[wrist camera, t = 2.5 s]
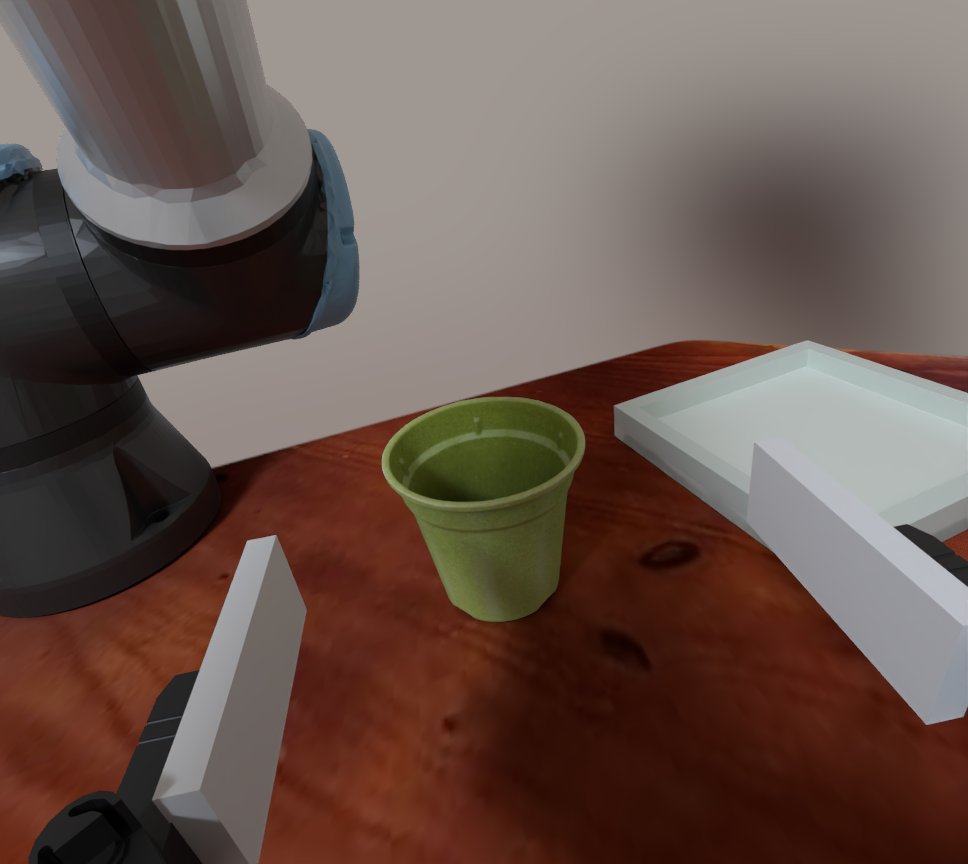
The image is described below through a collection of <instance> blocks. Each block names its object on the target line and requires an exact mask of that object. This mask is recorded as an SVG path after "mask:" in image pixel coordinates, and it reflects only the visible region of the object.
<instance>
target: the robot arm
mask: <svg viewBox="0 0 968 864" xmlns="http://www.w3.org/2000/svg"><path fill="white" fill-rule="evenodd" d="M0 23H1V25H2V26H3V28H4V30H5V31H6V33H7V35H8V36H9V38H10V39H11V41H12V42H13V44H14V46H15V47H16V49H17V50H18V52H19V53H20V55H21V57H22V58H23V60H24V62H25V63H26V65H27V66H28V68H29V69H30V71H31V72H32V74H33V76H34V77H35V79H36V81H37V82H38V84H39V85H40V87H41V88H42V90H43V92H44V93H45V95H46V96H47V98H48V100H49V101H50V103H51V104H52V106H53V107H54V109H55V111H56V112H57V114H58V115H59V117H60V118H61V120H62V122H63V123H64V125H65V127H64V129H63V131H62V134H61V135H60V139H59V143H58V147H57V168H58V169H52V170H45V171H41V170H42V165H41V163H40V161H39V160H38V159H37V158H35V157H34V156H33V155H32V154H31V153H30V151H29V150H28V149H27V148H25V147H24V146H22V145H19V144H2V145H0V616H4V617H15V618H23V617H37V616H43V615H49V614H54V613H59V612H63V611H67V610H70V609H74V608H77V607H80V606H83V605H86V604H89V603H92V602H95V601H97V600H100V599H102V598H105V597H107V596H110V595H112V594H114V593H116V592H119V591H121V590H123V589H125V588H127V587H129V586H131V585H133V584H135V583H137V582H138V581H140V580H142V579H144V578H145V577H147V576H149V575H151V574H152V573H154V572H155V571H157V570H159V569H160V568H162V567H163V566H165V565H166V564H168V563H169V562H170V561H172V560H173V559H175V558H176V557H177V556H178V555H180V554H181V553H182V552H183V551H185V550H186V549H187V548H188V547H189V546H190V545H191V544H193V543H194V542H195V541H196V540H197V539H198V538H199V537H200V536H201V535H202V533H203V532H204V531H205V530H206V529H207V528H208V526H209V525H210V524H211V522H212V521H213V519H214V518H215V516H216V514H217V512H218V510H219V507H220V504H221V498H222V493H221V489H220V486H219V484H218V482H217V480H216V477H215V475H214V473H213V471H212V469H211V466H210V465H209V463H208V462H207V460H206V459H205V458H204V457H203V456H202V455H201V454H200V453H199V452H198V451H197V450H196V449H195V448H194V447H193V446H192V445H191V444H190V443H189V442H188V440H186V438H185V437H184V436H183V435H181V434H180V432H179V431H178V430H177V429H176V428H175V427H174V426H173V425H172V424H171V423H170V422H169V421H168V420H167V419H166V418H165V417H164V416H163V415H162V414H161V413H160V412H159V411H158V410H157V409H156V408H155V407H154V406H153V405H152V404H151V402H150V400H149V398H148V396H147V394H146V392H145V390H144V388H143V386H142V384H141V382H140V380H139V378H138V376H137V375H140V374H144V373H148V372H152V371H156V370H160V369H164V368H168V367H172V366H177V365H181V364H185V363H189V362H193V361H197V360H201V359H205V358H209V357H213V356H217V355H222V354H226V353H230V352H235V351H239V350H244V349H248V348H252V347H257V346H261V345H265V344H270V343H274V342H279V341H283V340H288V339H300V338H303V337H306V336H308V335H309V334H310V333H311V332H314V331H317V330H320V329H324V328H327V327H330V326H334V325H337V324H339V323H341V322H342V321H344V320H345V319H346V318H347V317H348V316H349V315H350V314H351V312H352V311H353V308H354V307H355V304H356V301H357V296H358V290H359V255H358V246H357V242H356V239H355V237H354V234H353V231H354V218H353V211H352V205H351V201H350V196H349V192H348V188H347V184H346V181H345V177H344V174H343V171H342V168H341V165H340V162H339V160H338V157H337V155H336V153H335V150H334V148H333V146H332V144H331V143H330V141H329V140H328V139H327V138H326V136H325V135H323V134H322V133H321V132H319V131H316V130H312V129H307V128H306V126H305V123H304V121H303V120H302V118H301V117H300V115H299V114H298V112H297V111H296V109H295V108H294V107H293V106H292V105H291V103H290V102H289V101H288V100H286V99H285V98H284V97H283V96H282V95H281V94H280V93H278V92H277V91H276V90H274V89H273V88H271V87H270V86H268V85H266V82H265V77H264V73H263V69H262V65H261V61H260V57H259V53H258V48H257V43H256V40H255V35H254V31H253V27H252V22H251V18H250V14H249V10H248V5H247V1H246V0H0ZM746 522H747V523H748V524H749V525H750V526H751V527H752V528H753V529H754V531H755V532H756V533H757V534H758V535H759V536H760V537H761V539H762V540H763V541H764V542H765V543H766V544H767V545H768V546H769V548H770V549H771V550H772V551H773V552H774V553H775V554H776V555H777V557H778V558H779V559H780V560H781V561H782V562H783V563H784V564H785V566H786V567H787V568H788V569H789V570H790V571H791V572H792V574H793V575H794V576H795V577H796V578H797V579H798V580H799V581H800V583H801V584H802V585H803V586H804V587H805V588H806V589H807V590H808V592H809V593H810V594H811V595H812V596H813V597H814V598H815V599H816V601H817V602H818V603H819V604H820V605H821V606H822V607H823V609H824V610H825V611H826V612H827V613H828V614H829V615H830V616H831V618H832V619H833V620H834V621H835V622H836V623H837V624H838V625H839V627H840V628H841V629H842V630H843V631H844V632H845V633H846V634H847V636H848V637H849V638H850V639H851V640H852V641H853V642H854V644H855V645H856V646H857V647H858V648H859V649H860V650H861V651H862V653H863V654H864V655H865V656H866V657H867V658H868V659H869V660H870V662H871V663H872V664H873V665H874V666H875V667H876V668H877V670H878V671H879V672H880V673H881V674H882V675H883V676H884V677H885V679H886V680H887V681H888V682H889V683H890V684H891V685H892V686H893V688H894V689H895V690H896V691H897V692H898V693H899V694H900V695H901V697H902V698H903V699H904V700H905V701H906V702H907V703H908V705H909V706H910V707H911V708H912V709H913V710H914V711H915V712H916V714H917V715H918V716H919V717H920V718H921V719H922V720H923V721H924V723H925V724H926V725H929V724H933V723H938V722H942V721H946V720H951V719H955V718H960V717H963V716H964V714H965V712H966V709H967V707H968V562H967V561H966V560H964V559H963V558H962V557H960V556H959V555H958V556H956V555H955V552H954V551H953V550H951V549H950V548H949V547H947V546H946V545H945V544H943V543H942V542H941V541H939V540H938V539H937V538H936V537H934V536H932V535H930V534H928V533H926V532H924V531H921V530H919V529H917V528H915V527H913V526H910V525H908V524H904V525H900V526H895V527H893V526H891V525H890V524H889V523H888V522H886V521H885V520H884V519H883V518H881V517H880V516H879V515H878V514H876V513H875V512H874V511H873V510H871V509H870V508H869V507H868V506H866V505H865V504H864V503H863V502H861V501H860V500H859V499H858V498H857V497H855V496H854V495H853V494H852V493H850V492H849V491H848V490H847V489H845V488H844V487H843V486H842V485H840V484H839V483H838V482H837V481H835V480H834V479H833V478H832V477H830V476H829V475H828V474H827V473H825V472H824V471H823V470H822V469H821V468H819V467H818V466H817V465H816V464H814V463H813V462H812V461H811V460H809V459H808V458H807V457H806V456H804V455H803V454H802V453H801V452H799V451H798V450H797V449H796V448H794V447H793V446H792V445H791V444H789V443H788V442H787V441H786V440H785V439H783V438H782V437H776V438H771V439H766V440H761V441H756V442H754V449H753V459H752V469H751V479H750V489H749V499H748V509H747V519H746ZM306 611H307V609H306V607H305V605H304V602H303V600H302V597H301V595H300V592H299V590H298V587H297V585H296V582H295V580H294V577H293V575H292V572H291V570H290V567H289V565H288V562H287V560H286V557H285V555H284V553H283V550H282V548H281V545H280V543H279V540H278V538H277V535H274V536H269V537H264V538H258V539H253V540H248V541H247V543H246V546H245V548H244V551H243V554H242V557H241V559H240V562H239V565H238V567H237V570H236V573H235V576H234V578H233V581H232V584H231V586H230V589H229V592H228V595H227V597H226V600H225V603H224V605H223V608H222V611H221V614H220V616H219V619H218V622H217V625H216V627H215V630H214V633H213V635H212V638H211V641H210V644H209V646H208V649H207V652H206V654H205V657H204V660H203V663H202V665H201V668H200V670H199V671H194V672H189V673H184V674H179V675H175V676H174V678H173V679H172V680H171V681H170V683H169V684H168V685H167V686H166V688H165V689H164V690H163V691H162V692H161V694H160V695H159V696H158V697H157V699H156V702H155V704H154V706H153V709H152V711H151V714H150V716H149V718H148V721H147V726H145V728H144V730H143V732H142V735H141V737H140V739H139V746H136V749H135V751H134V754H133V756H132V758H131V761H130V763H129V765H128V768H127V770H126V772H125V775H124V777H123V779H122V782H121V784H120V787H119V789H118V791H117V794H115V793H114V792H109V791H97V792H94V793H91V794H88V795H84V796H82V797H81V798H79V799H77V800H76V801H74V802H72V803H71V804H69V805H67V806H66V807H65V808H64V809H62V810H61V811H60V812H59V813H58V814H57V815H56V816H55V817H54V818H53V819H52V820H50V821H49V823H48V824H47V825H46V827H45V828H44V829H43V831H42V832H41V833H40V835H39V836H38V838H37V839H36V841H35V843H34V846H33V848H32V850H31V853H30V855H29V864H258V862H259V857H260V852H261V847H262V841H263V836H264V831H265V826H266V821H267V815H268V810H269V805H270V800H271V794H272V789H273V784H274V779H275V773H276V768H277V763H278V758H279V753H280V747H281V742H282V737H283V732H284V726H285V721H286V716H287V711H288V705H289V700H290V695H291V690H292V685H293V679H294V674H295V669H296V664H297V658H298V653H299V648H300V643H301V637H302V632H303V627H304V622H305V616H306Z"/></svg>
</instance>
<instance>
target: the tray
mask: <svg viewBox="0 0 968 864" xmlns="http://www.w3.org/2000/svg"><path fill="white" fill-rule="evenodd" d="M614 431H615V436H616V437H617V438H618V439H620V440H621V441H622V442H624V443H625V444H626V445H628V446H629V447H631V448H632V449H633V450H635V451H636V452H637V453H639V454H640V455H641V456H643V457H644V458H646V459H647V460H648V461H650V462H651V463H652V464H654V465H655V466H656V467H658V468H659V469H660V470H662V471H663V472H665V473H666V474H667V475H669V476H670V477H671V478H673V479H674V480H675V481H677V482H678V483H680V484H681V485H682V486H684V487H685V488H686V489H688V490H689V491H690V492H692V493H693V494H695V495H696V496H697V497H699V498H700V499H701V500H703V501H704V502H705V503H707V504H708V505H710V506H711V507H712V508H714V509H715V510H716V511H718V512H719V513H720V514H722V515H723V516H724V517H726V518H727V519H729V520H730V521H731V522H733V523H734V524H735V525H737V526H738V527H739V528H741V529H742V530H744V531H745V532H746V533H748V534H749V535H750V536H752V537H753V538H754V539H756V540H757V541H759V542H760V543H761V544H763V545H764V546H765V547H767V548H768V549H769V550H771V549H770V548H769V546H768V545H767V544H766V543H765V542H764V541H763V540H762V539H761V537H760V536H759V535H758V534H757V533H756V532H755V531H754V529H753V528H752V527H751V526H750V525H749V524H748V523H747V522H746V519H747V509H748V499H749V489H750V479H751V469H752V459H753V449H754V442H756V441H761V440H766V439H771V438H776V437H782V438H783V439H785V440H786V441H787V442H788V443H789V444H791V445H792V446H793V447H794V448H796V449H797V450H798V451H799V452H801V453H802V454H803V455H804V456H806V457H807V458H808V459H809V460H811V461H812V462H813V463H814V464H816V465H817V466H818V467H819V468H821V469H822V470H823V471H824V472H825V473H827V474H828V475H829V476H830V477H832V478H833V479H834V480H835V481H837V482H838V483H839V484H840V485H842V486H843V487H844V488H845V489H847V490H848V491H849V492H850V493H852V494H853V495H854V496H855V497H857V498H858V499H859V500H860V501H861V502H863V503H864V504H865V505H866V506H868V507H869V508H870V509H871V510H873V511H874V512H875V513H876V514H878V515H879V516H880V517H881V518H883V519H884V520H885V521H886V522H888V523H889V524H890V525H891V526H893V527H895V526H900V525H904V524H908V525H910V526H913V527H915V528H917V529H919V530H921V531H924V532H926V533H928V534H930V535H932V536H934V537H936V538H937V539H938V540H939V541H941V542H943V541H945V540H947V539H949V538H951V537H953V536H955V535H957V534H959V533H961V532H963V531H965V530H967V529H968V393H966V392H962V391H959V390H956V389H953V388H950V387H947V386H944V385H941V384H938V383H935V382H932V381H929V380H926V379H923V378H920V377H917V376H914V375H911V374H908V373H905V372H902V371H899V370H896V369H893V368H890V367H887V366H884V365H881V364H878V363H875V362H872V361H869V360H866V359H863V358H860V357H857V356H854V355H851V354H848V353H845V352H842V351H839V350H836V349H833V348H830V347H826V346H823V345H820V344H817V343H814V342H811V341H808V340H807V341H804V342H801V343H798V344H795V345H792V346H789V347H786V348H783V349H780V350H777V351H774V352H771V353H768V354H765V355H762V356H759V357H756V358H753V359H750V360H747V361H744V362H741V363H738V364H735V365H732V366H729V367H727V368H724V369H721V370H718V371H715V372H712V373H709V374H706V375H703V376H700V377H697V378H694V379H691V380H688V381H685V382H682V383H679V384H676V385H673V386H670V387H667V388H664V389H661V390H658V391H655V392H652V393H649V394H646V395H644V396H641V397H638V398H635V399H632V400H629V401H626V402H623V403H620V404H617V405H614ZM771 551H772V550H771ZM772 552H773V551H772ZM773 553H774V552H773Z"/></svg>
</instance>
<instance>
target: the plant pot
mask: <svg viewBox="0 0 968 864" xmlns="http://www.w3.org/2000/svg"><path fill="white" fill-rule="evenodd" d="M584 451H585V436H584V433H583V431H582V428H581V427H580V425H579V424H578V422H577V421H576V420H575V419H574V418H573V417H572V416H571V415H569V414H568V413H566V412H565V411H563V410H562V409H559V408H558V407H555V406H553V405H550V404H547V403H544V402H541V401H538V400H532V399H527V398H518V397H485V398H477V399H471V400H464V401H460V402H456V403H452V404H449V405H446V406H443V407H440V408H438V409H435V410H432V411H430V412H428V413H426V414H424V415H422V416H420V417H418V418H416V419H414V420H413V421H411V422H410V423H408V424H407V425H405V426H404V427H403V428H402V429H400V430H399V431H398V432H397V433H396V434H395V435H394V436H393V437H392V439H391V440H390V441H389V443H388V444H387V446H386V448H385V450H384V452H383V455H382V470H383V473H384V476H385V478H386V480H387V482H388V483H389V485H390V486H391V487H392V488H393V489H394V490H395V491H396V492H397V493H398V494H399V495H401V496H402V498H403V500H404V502H405V504H406V505H407V507H408V508H409V509H410V510H411V511H412V512H413V513H414V515H415V518H416V520H417V522H418V525H419V527H420V530H421V532H422V534H423V537H424V539H425V542H426V544H427V546H428V549H429V551H430V554H431V556H432V558H433V561H434V563H435V566H436V568H437V571H438V573H439V575H440V578H441V580H442V583H443V585H444V587H445V590H446V592H447V595H448V597H449V599H450V601H451V602H452V603H453V605H454V606H457V607H459V608H460V609H462V610H464V611H465V612H467V613H468V614H470V615H471V616H472V617H474V618H476V619H479V620H483V621H489V622H505V621H511V620H516V619H519V618H522V617H525V616H528V615H530V614H532V613H534V612H535V611H537V610H538V609H539V608H540V606H541V605H542V604H543V603H544V602H545V601H546V599H548V598H549V597H550V596H551V595H552V594H553V593H554V592H555V590H556V588H557V586H558V582H559V573H560V565H561V552H562V541H563V531H564V520H565V510H566V501H567V491H568V489H569V487H570V485H571V483H572V480H573V476H574V472H575V471H576V469H577V468H578V466H579V465H580V463H581V461H582V458H583V456H584Z"/></svg>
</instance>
